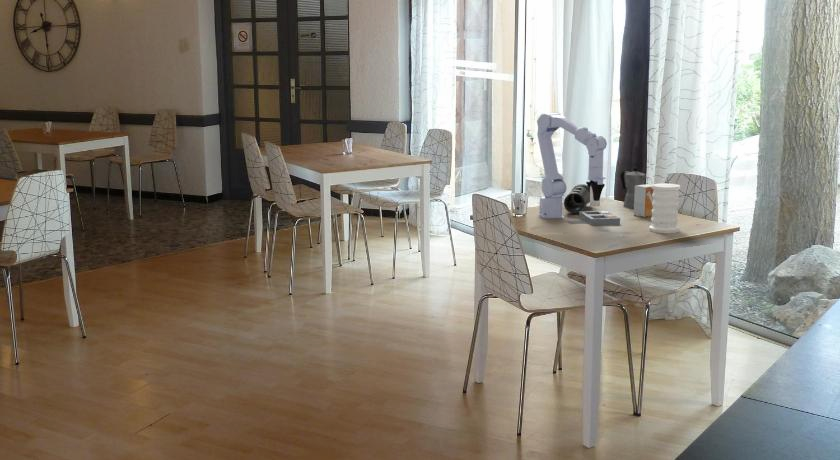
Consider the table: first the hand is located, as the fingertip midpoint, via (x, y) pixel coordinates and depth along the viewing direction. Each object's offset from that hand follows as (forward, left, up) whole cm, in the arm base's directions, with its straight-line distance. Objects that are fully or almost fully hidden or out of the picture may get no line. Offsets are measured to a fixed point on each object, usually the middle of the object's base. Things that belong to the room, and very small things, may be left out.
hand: (594, 199), depth 382 cm
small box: (+27, +16, -10) cm, 33 cm away
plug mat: (-7, +2, -10) cm, 12 cm away
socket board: (+3, +4, -10) cm, 11 cm away
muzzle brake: (+2, +32, -10) cm, 34 cm away
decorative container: (+23, -17, -10) cm, 31 cm away
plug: (0, 0, -2) cm, 2 cm away
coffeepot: (+29, +39, -10) cm, 50 cm away
